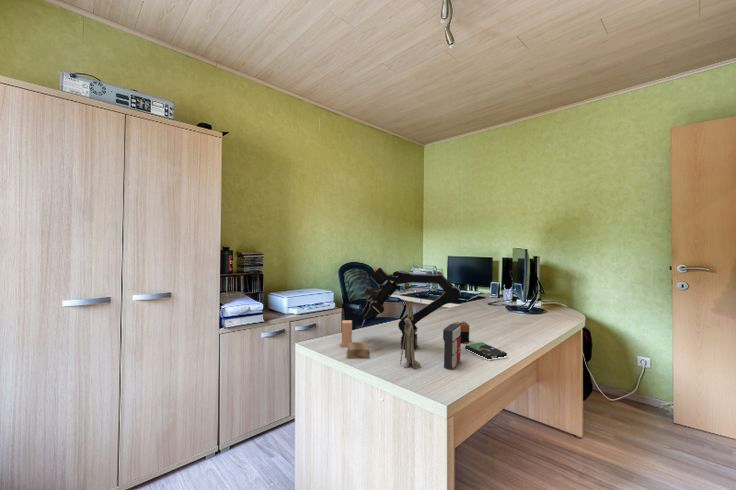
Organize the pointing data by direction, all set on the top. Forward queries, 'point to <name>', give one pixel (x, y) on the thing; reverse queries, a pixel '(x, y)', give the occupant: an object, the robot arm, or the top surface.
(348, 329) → the terracotta block
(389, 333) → the top surface
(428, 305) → the robot arm
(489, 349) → the disk drive
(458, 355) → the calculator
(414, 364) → the wizard figurine
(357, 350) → the walnut block
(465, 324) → the battery
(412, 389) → the top surface
